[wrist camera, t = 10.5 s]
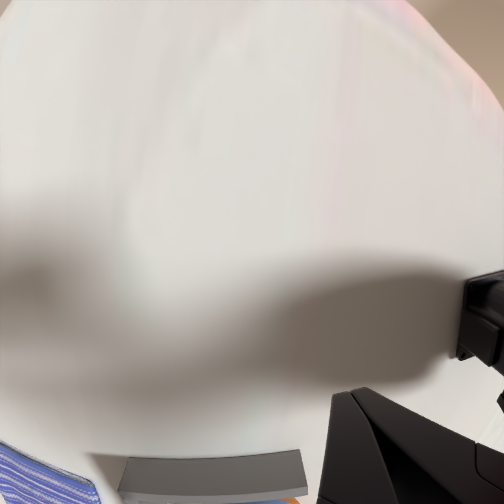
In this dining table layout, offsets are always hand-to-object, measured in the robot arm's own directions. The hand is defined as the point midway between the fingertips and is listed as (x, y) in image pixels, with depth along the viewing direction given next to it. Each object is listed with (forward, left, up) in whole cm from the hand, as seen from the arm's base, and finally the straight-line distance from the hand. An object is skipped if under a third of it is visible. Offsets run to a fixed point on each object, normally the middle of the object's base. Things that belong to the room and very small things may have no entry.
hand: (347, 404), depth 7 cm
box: (+7, +24, -12) cm, 28 cm away
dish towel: (+31, +28, -13) cm, 43 cm away
